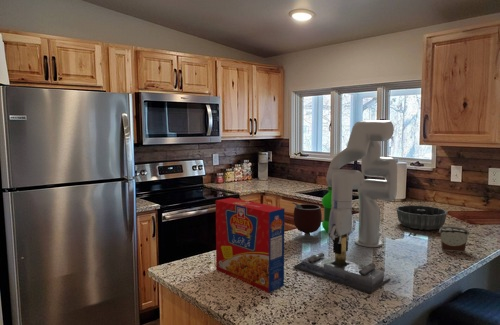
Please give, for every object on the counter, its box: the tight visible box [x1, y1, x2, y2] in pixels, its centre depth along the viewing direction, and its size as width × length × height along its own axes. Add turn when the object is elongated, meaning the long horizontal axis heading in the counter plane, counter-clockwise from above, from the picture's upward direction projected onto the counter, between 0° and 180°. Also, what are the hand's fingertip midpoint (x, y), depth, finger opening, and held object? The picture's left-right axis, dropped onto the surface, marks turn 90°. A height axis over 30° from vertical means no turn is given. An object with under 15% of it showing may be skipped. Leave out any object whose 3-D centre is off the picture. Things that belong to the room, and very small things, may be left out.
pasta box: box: [215, 197, 285, 294], centre depth 130 cm, size 28×8×28 cm, turn 45°
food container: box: [438, 225, 470, 253], centre depth 162 cm, size 12×6×10 cm, turn 74°
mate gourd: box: [291, 201, 323, 245], centre depth 175 cm, size 16×14×20 cm
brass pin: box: [334, 235, 347, 264], centre depth 133 cm, size 4×4×10 cm
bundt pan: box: [395, 204, 448, 231], centre depth 200 cm, size 26×26×10 cm
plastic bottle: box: [321, 185, 332, 234], centre depth 189 cm, size 10×10×25 cm
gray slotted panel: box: [293, 252, 391, 295], centre depth 134 cm, size 16×32×6 cm, turn 45°
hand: (340, 251), depth 133 cm, fingers closed on brass pin, 4 cm apart
